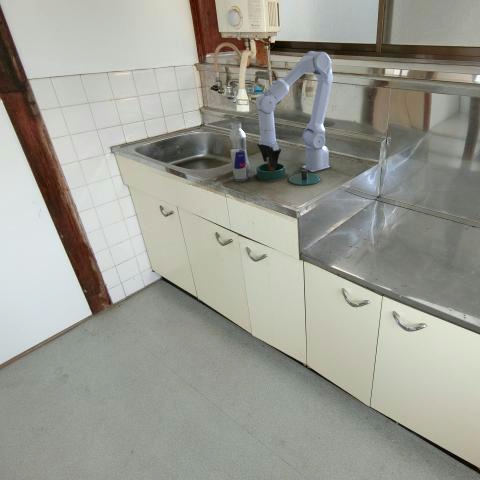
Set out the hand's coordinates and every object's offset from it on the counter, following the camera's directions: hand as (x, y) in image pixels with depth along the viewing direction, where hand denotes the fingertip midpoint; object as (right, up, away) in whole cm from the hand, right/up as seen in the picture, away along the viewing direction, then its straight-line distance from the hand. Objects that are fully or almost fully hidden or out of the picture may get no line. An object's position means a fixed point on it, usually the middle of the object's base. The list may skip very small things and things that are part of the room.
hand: (270, 163), depth 143 cm
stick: (0, -4, +2) cm, 5 cm away
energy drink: (-12, -7, 0) cm, 13 cm away
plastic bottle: (-13, -2, +8) cm, 15 cm away
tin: (0, -5, +3) cm, 5 cm away
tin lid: (+14, -7, -3) cm, 16 cm away
